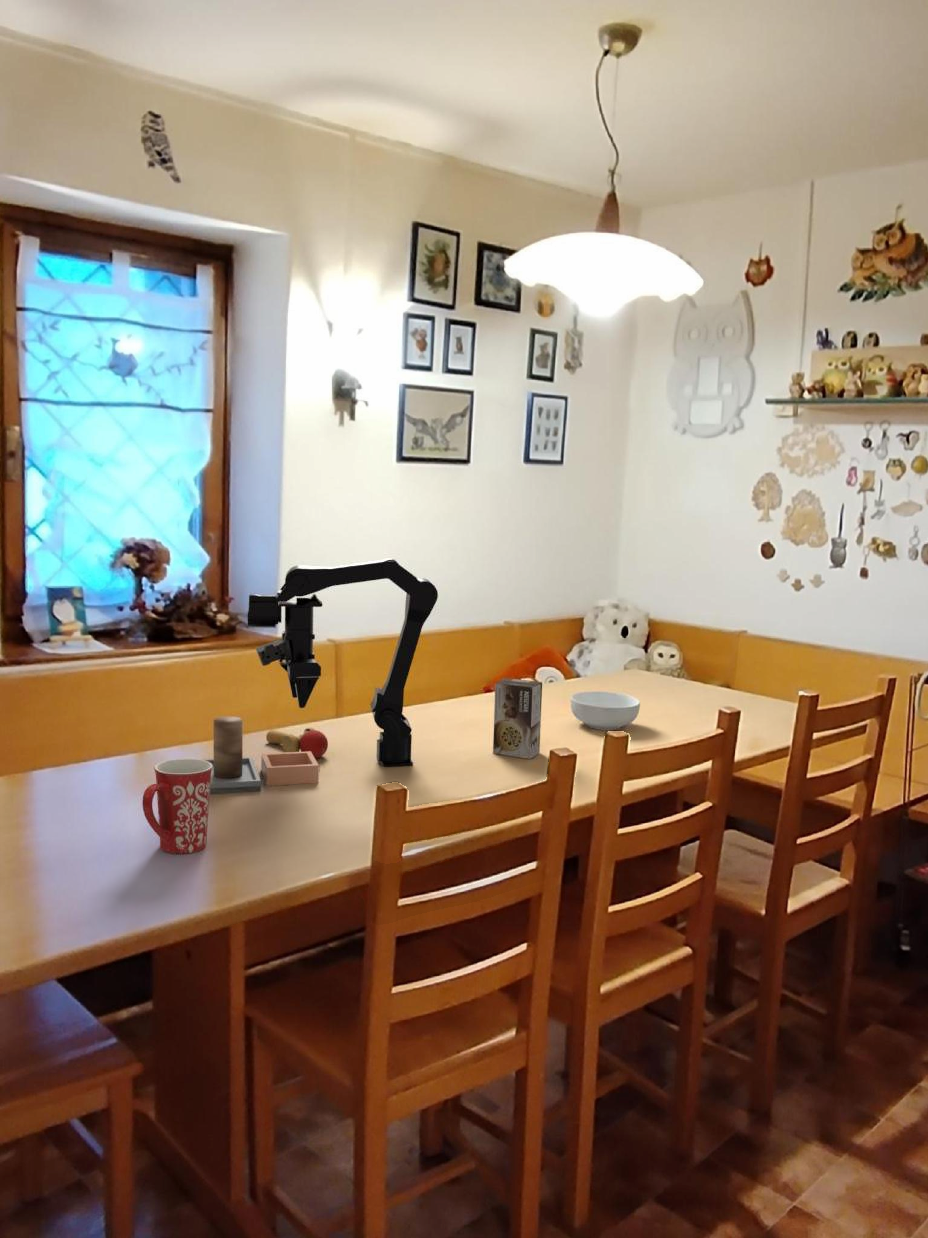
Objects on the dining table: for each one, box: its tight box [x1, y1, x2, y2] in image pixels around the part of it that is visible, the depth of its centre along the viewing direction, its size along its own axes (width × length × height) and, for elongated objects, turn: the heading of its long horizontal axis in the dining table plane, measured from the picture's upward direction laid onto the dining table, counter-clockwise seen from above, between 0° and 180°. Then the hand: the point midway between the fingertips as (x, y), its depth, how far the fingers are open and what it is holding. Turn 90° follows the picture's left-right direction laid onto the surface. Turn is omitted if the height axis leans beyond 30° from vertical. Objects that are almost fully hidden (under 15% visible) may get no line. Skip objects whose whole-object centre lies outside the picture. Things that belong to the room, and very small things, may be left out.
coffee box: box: [492, 677, 543, 760], centre depth 227 cm, size 9×6×16 cm
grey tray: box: [200, 756, 262, 795], centre depth 202 cm, size 11×16×2 cm
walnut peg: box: [213, 716, 244, 779], centre depth 201 cm, size 6×6×11 cm
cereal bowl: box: [570, 690, 641, 731], centre depth 255 cm, size 17×17×7 cm
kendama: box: [265, 727, 329, 759], centre depth 224 cm, size 8×6×18 cm
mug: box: [142, 757, 213, 855], centre depth 165 cm, size 13×9×14 cm
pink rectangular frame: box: [260, 751, 320, 786], centre depth 206 cm, size 10×10×4 cm
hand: (298, 702), depth 213 cm, fingers open, 9 cm apart
